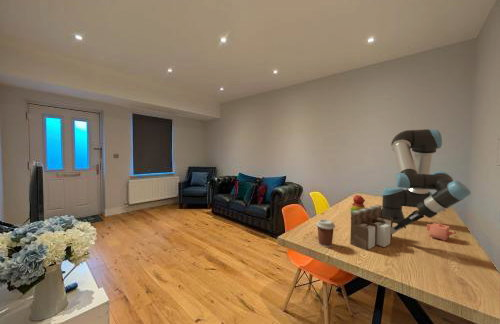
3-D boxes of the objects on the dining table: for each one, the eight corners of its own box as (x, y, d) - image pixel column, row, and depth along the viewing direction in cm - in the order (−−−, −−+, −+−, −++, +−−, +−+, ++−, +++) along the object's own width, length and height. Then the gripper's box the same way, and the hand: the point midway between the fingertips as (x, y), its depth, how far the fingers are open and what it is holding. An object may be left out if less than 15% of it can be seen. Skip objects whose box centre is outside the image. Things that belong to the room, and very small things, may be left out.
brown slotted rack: (376, 233, 120) (377, 204, 120) (392, 237, 113) (393, 207, 113) (350, 243, 105) (350, 211, 105) (366, 250, 98) (367, 215, 98)
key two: (377, 240, 110) (377, 221, 109) (389, 244, 105) (390, 224, 104) (371, 242, 107) (372, 223, 106) (384, 247, 102) (384, 227, 101)
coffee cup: (330, 240, 110) (330, 218, 109) (337, 248, 101) (338, 224, 100) (313, 240, 109) (313, 218, 109) (319, 248, 100) (320, 224, 100)
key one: (378, 234, 118) (379, 217, 117) (390, 238, 112) (391, 220, 112) (373, 236, 114) (374, 219, 114) (385, 240, 109) (386, 222, 109)
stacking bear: (368, 223, 138) (369, 197, 137) (352, 222, 140) (353, 196, 139) (363, 218, 148) (364, 194, 147) (348, 217, 150) (349, 193, 149)
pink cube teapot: (454, 244, 106) (454, 228, 105) (424, 236, 115) (425, 222, 115) (457, 240, 110) (457, 225, 110) (428, 233, 120) (429, 220, 120)
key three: (362, 241, 108) (363, 222, 107) (374, 246, 103) (375, 226, 102) (356, 244, 104) (357, 225, 104) (368, 249, 99) (369, 228, 99)
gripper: (433, 215, 90) (390, 240, 104) (442, 211, 97) (401, 235, 111) (418, 201, 94) (379, 227, 108) (428, 198, 101) (390, 223, 115)
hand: (390, 231), depth 110 cm, fingers closed
